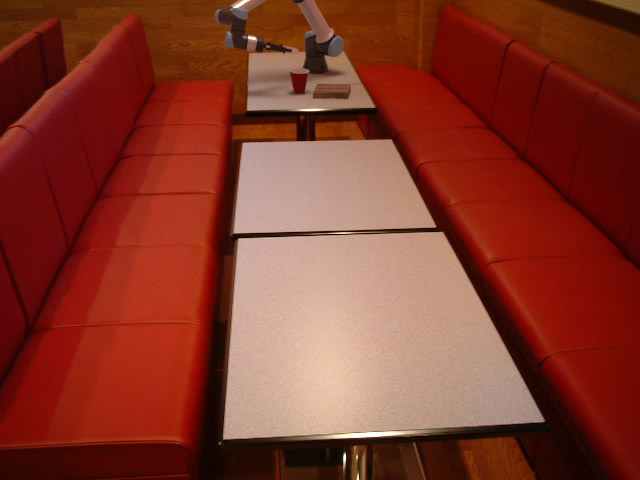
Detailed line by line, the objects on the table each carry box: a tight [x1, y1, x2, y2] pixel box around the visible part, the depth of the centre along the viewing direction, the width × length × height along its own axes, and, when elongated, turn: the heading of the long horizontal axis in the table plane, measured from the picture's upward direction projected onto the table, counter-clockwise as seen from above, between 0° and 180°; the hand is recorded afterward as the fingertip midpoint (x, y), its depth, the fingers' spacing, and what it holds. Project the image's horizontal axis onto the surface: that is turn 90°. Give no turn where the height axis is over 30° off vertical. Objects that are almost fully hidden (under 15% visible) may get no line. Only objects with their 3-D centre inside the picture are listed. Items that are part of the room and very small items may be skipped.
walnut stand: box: [312, 83, 352, 100], centre depth 333 cm, size 18×18×3 cm
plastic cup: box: [288, 67, 309, 95], centre depth 335 cm, size 11×11×12 cm
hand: (296, 51), depth 329 cm, fingers open, 13 cm apart
